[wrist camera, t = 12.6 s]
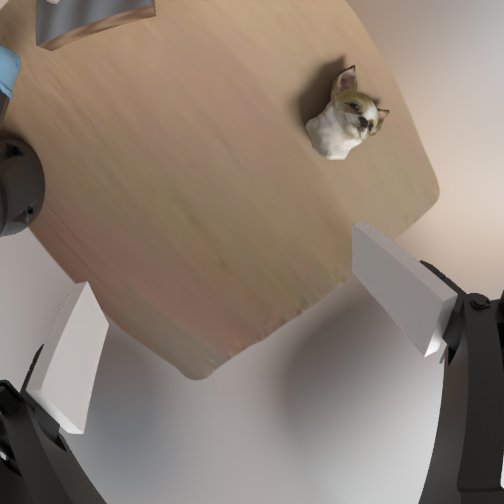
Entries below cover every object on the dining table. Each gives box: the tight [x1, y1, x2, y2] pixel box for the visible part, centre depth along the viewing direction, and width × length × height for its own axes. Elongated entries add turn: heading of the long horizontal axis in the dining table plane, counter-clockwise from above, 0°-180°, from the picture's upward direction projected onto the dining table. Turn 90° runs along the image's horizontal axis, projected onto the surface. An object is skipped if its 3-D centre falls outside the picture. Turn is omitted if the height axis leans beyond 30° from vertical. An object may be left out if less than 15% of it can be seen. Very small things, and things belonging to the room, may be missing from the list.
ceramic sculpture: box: [306, 65, 390, 160], centre depth 35 cm, size 11×9×15 cm
